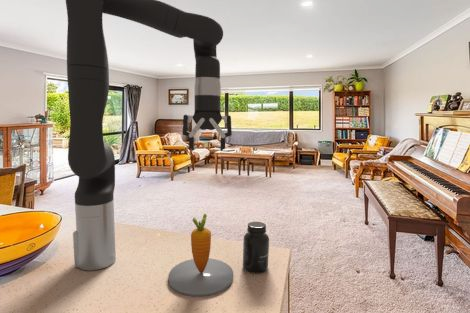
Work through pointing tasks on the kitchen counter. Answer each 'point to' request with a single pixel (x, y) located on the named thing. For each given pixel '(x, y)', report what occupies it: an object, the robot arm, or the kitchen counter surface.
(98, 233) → the robot arm
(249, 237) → the supplement bottle
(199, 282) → the slate plate
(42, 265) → the kitchen counter surface
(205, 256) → the carrot
